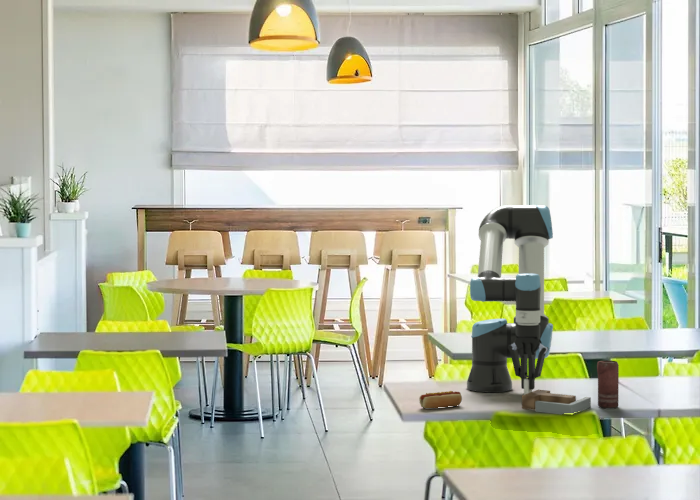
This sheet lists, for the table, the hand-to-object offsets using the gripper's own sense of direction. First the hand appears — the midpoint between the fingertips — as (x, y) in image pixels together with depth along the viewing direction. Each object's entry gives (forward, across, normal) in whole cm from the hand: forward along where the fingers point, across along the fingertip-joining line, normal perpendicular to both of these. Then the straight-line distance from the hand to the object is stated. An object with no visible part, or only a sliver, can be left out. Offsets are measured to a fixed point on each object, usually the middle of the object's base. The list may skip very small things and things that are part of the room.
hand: (527, 399), depth 330 cm
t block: (+2, +8, 0) cm, 8 cm away
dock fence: (+2, +12, -1) cm, 12 cm away
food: (+2, -21, -17) cm, 27 cm away
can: (+2, +22, +10) cm, 24 cm away
